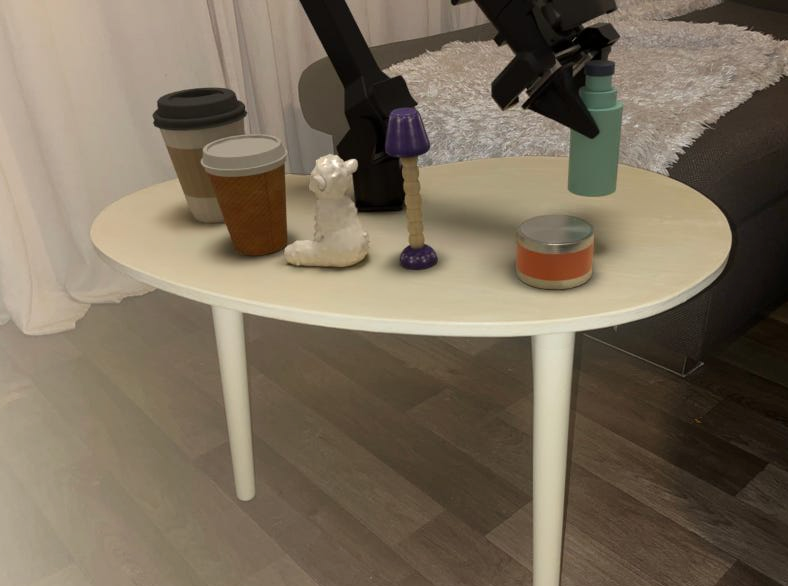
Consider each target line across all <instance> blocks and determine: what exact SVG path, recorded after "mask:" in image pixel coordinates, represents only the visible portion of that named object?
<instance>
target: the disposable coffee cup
mask: <svg viewBox="0 0 788 586" xmlns="http://www.w3.org/2000/svg"><path fill="white" fill-rule="evenodd" d="M287 157H288V150H287V149H286V148H285V147H284V145H283V141H282V139H281V138H279V137H278V136H274V135H271V134H260V133H252V134H245V135H239V136H232V137H227V138H223V139H219V140H216V141H213V142H211V143H209V144H207V145H206V146H205V147H204V148H203V158H202V159H201V165H202V166H203V167H204V168H205V171H206V172H208V175H209V177H210V180H211V183H212V186H213V189H214V192H215V195H216V198H217V200H218V203H219V206H220V209H221V212H222V215H223V217H224V220H225V222H224V223H225V226H226V229H227V231H228V235H229V237H230V240H231V243H232V246H233V248H234V251H235V252H236V253H238V254H240V255H244V256H264V255H269V254H272V253H275V252H277V251H280V250H282V249H283V248H286V247H287V245H288V220H287V192H286V191H287V189H286V186H287V185H286V161H287Z"/></svg>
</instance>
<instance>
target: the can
mask: <svg viewBox="0 0 788 586" xmlns="http://www.w3.org/2000/svg"><path fill="white" fill-rule="evenodd" d="M595 230H596V229H595V227H594V225H593V224H592V223H591V222H589V221H587V220H586V219H583V218H580V217H577V216H573V215H567V214H566V215H565V214H544V215H543V214H542V215H536V216H533V217H530V218H527V219H525V220H523V221H521V222H520V223H519V224H518V225H517V226H516V238H515V239H516V243H515V244H516V245H515V248H516V251H515V265H516V266H515V267H516V270H515V271H516V273H515V274H516V276H517V278H518V279H519V280H520V281H521V282H523V283H524V284H526V285H529V286H530V287H534V288H538V289H544V290H568V289H572V288H576V287H579V286H582V285H583V284H585V283H587V282H589V280H590V279H591V278H592V276H593V275H592V274H593V266H594V265H593V264H594V249H595V232H596V231H595Z"/></svg>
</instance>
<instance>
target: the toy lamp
mask: <svg viewBox="0 0 788 586" xmlns="http://www.w3.org/2000/svg"><path fill="white" fill-rule="evenodd" d="M415 108H416V107H415ZM415 108H399V109H395V110H393V111H392V112H391V113H390V116H389V121H388V128H387V135H386V143H385V151H386V153H387V154H388V155H390V156H393V157H401V163H402V165H403V169H402V175H403V178H404V180H405V181H404V191H405V193H406V195H405V201H404V205H405V207H406V210H405V217H406V219H407V226H406V227H407V231H408V233H409V235H408V244H409V245H407V246H406V247H405V248H403V249H402V251H401V253H400V256H399V264H400V266H402V267H403V268H406V269H409V270H423V269H428V268H430V267H432V266H435V265H436V264H437V262H438V255H437V252H436V250H434V248H433V247H432V246H430V245H429V244H426V243H425V242H426V240H425V239H426V237H425V235H424V233H423V232H424V229H425V228H424V227H425V226H424V222H423V215H424V213H423V209H422V207H421V206H422V200H423V199H422V195H421V193H420V192H421V182H420V180H419V177H420V169H419V166H418V162H419V156H423V155H425V154H427V153H428V152H430V149H431V142H430V139H429V136H428V133H427V130H426V127H425V124H424V121H423V118H422V115H421V113H420V111H419V109H417V108H416V109H415Z"/></svg>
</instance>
